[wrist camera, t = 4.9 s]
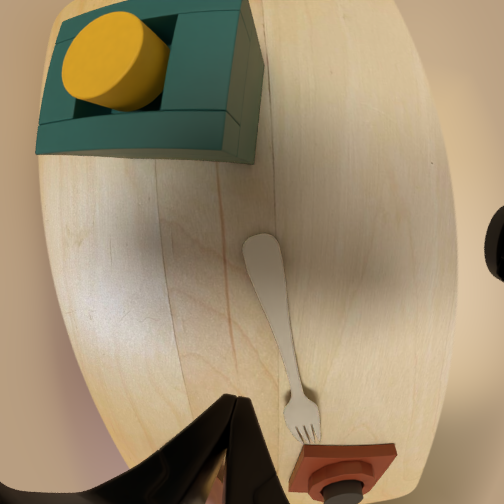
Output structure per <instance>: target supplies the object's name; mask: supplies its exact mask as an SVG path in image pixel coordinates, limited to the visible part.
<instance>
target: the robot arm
mask: <svg viewBox="0 0 504 504" xmlns="http://www.w3.org/2000/svg"><path fill="white" fill-rule="evenodd" d="M500 271H501V273H500ZM496 275H497V276H498V277H500V278H504V239H503V244H502V249H501V254H500V258H499V262H498V266H497V270H496ZM225 454H226V457H225ZM224 457H225V468H224V480H223V493H222V504H290V503H289V501H288V499H287V497H286V495H285V493H284V491H283V488H282V486H281V484H280V481H279V478H278V476H277V475H276V474H277V473H276V471H275V468H274V465H273V462H272V460H271V457H270V454H269V451H268V448H267V446H266V443H265V440H264V437H263V434H262V431H261V428H260V425H259V423H258V420H257V417H256V414H255V411H254V408H253V405H252V402H251V399H250V398H247V397H242V396H238V397H237V396H236V395H231V394H223V395H222V396H221V397H220V398H219V399H218V400H217V401H216V402H214V403H213V404H212V405H211V406H210V407H209V408H208V409H207V410H205V411H204V412H203V413H202V414H201V415H200V416H199V417H197V418H196V419H195V420H194V421H193V422H192V423H190V424H189V425H188V426H187V427H186V428H184V429H183V430H182V431H181V432H180V433H178V434H177V435H176V436H175V437H174V438H172V439H171V440H170V441H169V442H167V443H166V444H165V445H164V446H162V447H161V448H160V449H159V450H157V451H156V452H155V453H153V454H152V455H151V456H149V457H148V458H147V459H145V460H144V461H142V462H141V463H140V464H138V465H136V466H135V467H133V468H131V469H130V470H128V471H126V472H124V473H122V474H121V475H119V476H117V477H115V478H113V479H111V480H109V481H107V482H105V483H103V484H101V485H99V486H97V487H94V488H92V489H90V490H87V491H83V492H77V493H41V492H26V491H19V490H15V489H12V488H9V487H7V486H5V485H4V484H2V483H1V482H0V504H205V503H206V500H207V498H208V496H209V493H210V491H211V489H212V486H213V484H214V482H215V479H216V477H217V474H218V472H219V470H220V467H221V465H222V462H223V460H224Z"/></svg>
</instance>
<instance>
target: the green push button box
mask: <svg viewBox="0 0 504 504" xmlns="http://www.w3.org/2000/svg"><path fill="white" fill-rule="evenodd" d="M118 11H122V12H129V13H131V14H134V15H135V16H136V17H138V18H139V19H140V20H141V21H142V22H143V23H144V24H145V25H146V26H147V27H149V28H150V29H151V30H152V31H153V32H154V33H155V34H156V35H157V36H158V37H159V38H160V39H161V40H162V41H163V42H164V43H165V44H166V45H167V46H168V47H169V49H170V55H169V60H168V65H167V71H166V77H165V83H164V89H163V91H162V92H161V93H160V94H159V95H158V97H157V98H155V99H154V100H153V101H152V102H150V103H149V104H148V105H146V106H144V107H142V108H140V109H137V110H134V111H129V112H122V111H117V110H114V109H111V108H107V107H104V106H101V105H98V104H94V103H91V102H88V101H84V100H81V99H77V98H75V97H73V96H71V95H70V94H69V93H68V92H67V90H66V89H65V87H64V84H63V81H62V66H63V61H64V58H65V55H66V53H67V51H68V49H69V47H70V45H71V43H72V42H73V40H74V39H75V38H76V36H77V35H78V34H79V33H80V32H81V31H82V30H83V29H84V28H85V27H86V26H87V25H88V24H89V23H91V22H92V21H94V20H95V19H97V18H99V17H100V16H103V15H105V14H108V13H111V12H118ZM55 44H56V45H55V47H54V51H53V54H52V58H51V62H50V66H49V70H48V74H47V79H46V83H45V88H44V93H43V98H42V104H41V110H40V116H39V126H38V131H37V140H36V151H35V153H36V155H78V156H100V157H117V158H136V159H181V160H202V161H218V162H231V163H244V164H254V158H255V149H256V139H257V130H258V120H259V111H260V101H261V92H262V83H263V74H264V62H263V58H262V53H261V49H260V45H259V41H258V37H257V32H256V28H255V24H254V20H253V17H252V13H251V9H250V5H249V1H248V0H127V1H123V2H119V3H116V4H112V5H109V6H105V7H102V8H99V9H96V10H93V11H90V12H87V13H84V14H81V15H79V16H76V17H73V18H71V19H68V20H66V21H63V22H62V25H61V28H60V31H59V34H58V37H57V40H56V43H55Z"/></svg>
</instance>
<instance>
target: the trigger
mask: <svg viewBox="0 0 504 504" xmlns="http://www.w3.org/2000/svg"><path fill="white" fill-rule="evenodd" d="M169 55H170V49H169V47H168V46H167V45H166V44H165V43H164V42H163V41H162V40H161V39H160V38H159V37H158V36H157V35H156V34H155V33H154V32H153V31H152V30H151V29H150V28H149V27H147V26H146V25H145V24H144V23H143V22H142V21H141V20H140V19H139V18H138V17H136V16H135V15H134V14H131V13H129V12H122V11H118V12H111V13H108V14H105V15H103V16H100V17H99V18H97V19H95V20H94V21H92V22H91V23H89V24H88V25H87V26H86V27H85V28H84V29H83V30H82V31H81V32H80V33H79V34H78V35H77V36H76V38H75V39H74V40H73V42H72V43H71V45H70V47H69V49H68V51H67V53H66V55H65V58H64V61H63V66H62V81H63V84H64V87H65V89H66V90H67V92H68V93H69V94H70V95H71V96H73V97H75V98H77V99H81V100H84V101H88V102H91V103H94V104H98V105H101V106H104V107H107V108H111V109H114V110H117V111H122V112H129V111H134V110H137V109H140V108H142V107H144V106H146V105H148V104H149V103H150V102H152V101H153V100H154V99H155V98H157V97H158V95H159V94H160V93H161V92H162V91H163V89H164V83H165V77H166V71H167V65H168V60H169Z"/></svg>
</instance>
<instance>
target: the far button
mask: <svg viewBox="0 0 504 504" xmlns="http://www.w3.org/2000/svg"><path fill="white" fill-rule="evenodd" d="M323 499H324V504H358V503H359V502H361V501H362V499H363V492H362V485H361V482H360V481H359V480H356V479H352V480H341V481H337V482H333V483H330V484H329V485H327V486H325V487H324V489H323Z"/></svg>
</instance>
